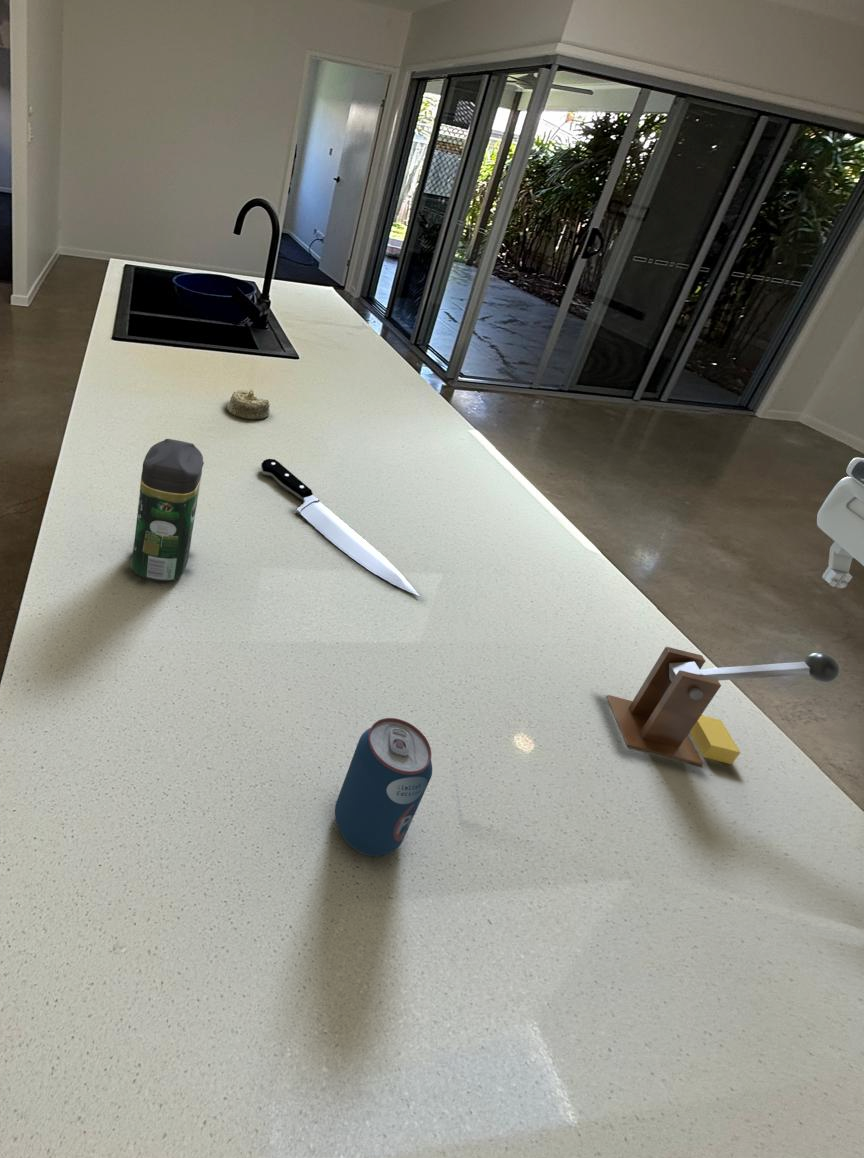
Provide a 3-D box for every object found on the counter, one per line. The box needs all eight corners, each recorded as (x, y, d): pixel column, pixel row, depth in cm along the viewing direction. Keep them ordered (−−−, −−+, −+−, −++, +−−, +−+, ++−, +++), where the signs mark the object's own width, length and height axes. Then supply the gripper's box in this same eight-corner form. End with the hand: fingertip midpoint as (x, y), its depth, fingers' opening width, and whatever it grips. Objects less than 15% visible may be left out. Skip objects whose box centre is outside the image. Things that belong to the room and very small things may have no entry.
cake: (253, 426, 144) (256, 404, 142) (217, 410, 149) (220, 389, 146) (278, 412, 152) (281, 391, 149) (243, 397, 156) (245, 377, 153)
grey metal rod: (828, 666, 77) (830, 645, 75) (845, 687, 74) (848, 665, 72) (667, 677, 81) (667, 657, 79) (678, 697, 78) (678, 676, 77)
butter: (709, 736, 84) (721, 719, 83) (728, 769, 80) (740, 752, 79) (682, 729, 85) (693, 712, 83) (699, 761, 80) (711, 745, 79)
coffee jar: (139, 539, 99) (153, 429, 91) (191, 549, 99) (209, 440, 91) (123, 578, 90) (137, 461, 82) (180, 589, 90) (199, 473, 82)
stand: (671, 718, 86) (715, 651, 81) (698, 770, 79) (748, 700, 74) (603, 700, 86) (642, 633, 81) (623, 751, 79) (668, 680, 74)
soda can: (401, 873, 61) (441, 788, 55) (328, 851, 61) (360, 765, 56) (400, 805, 67) (435, 723, 62) (334, 786, 67) (363, 703, 62)
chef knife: (402, 608, 97) (405, 596, 96) (248, 473, 124) (249, 462, 123) (426, 595, 100) (430, 584, 99) (271, 466, 127) (272, 456, 126)
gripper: (1074, 570, 55) (967, 688, 61) (899, 464, 74) (831, 563, 80) (996, 552, 56) (898, 671, 62) (842, 451, 74) (778, 551, 80)
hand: (859, 609), depth 71 cm, fingers open, 8 cm apart
